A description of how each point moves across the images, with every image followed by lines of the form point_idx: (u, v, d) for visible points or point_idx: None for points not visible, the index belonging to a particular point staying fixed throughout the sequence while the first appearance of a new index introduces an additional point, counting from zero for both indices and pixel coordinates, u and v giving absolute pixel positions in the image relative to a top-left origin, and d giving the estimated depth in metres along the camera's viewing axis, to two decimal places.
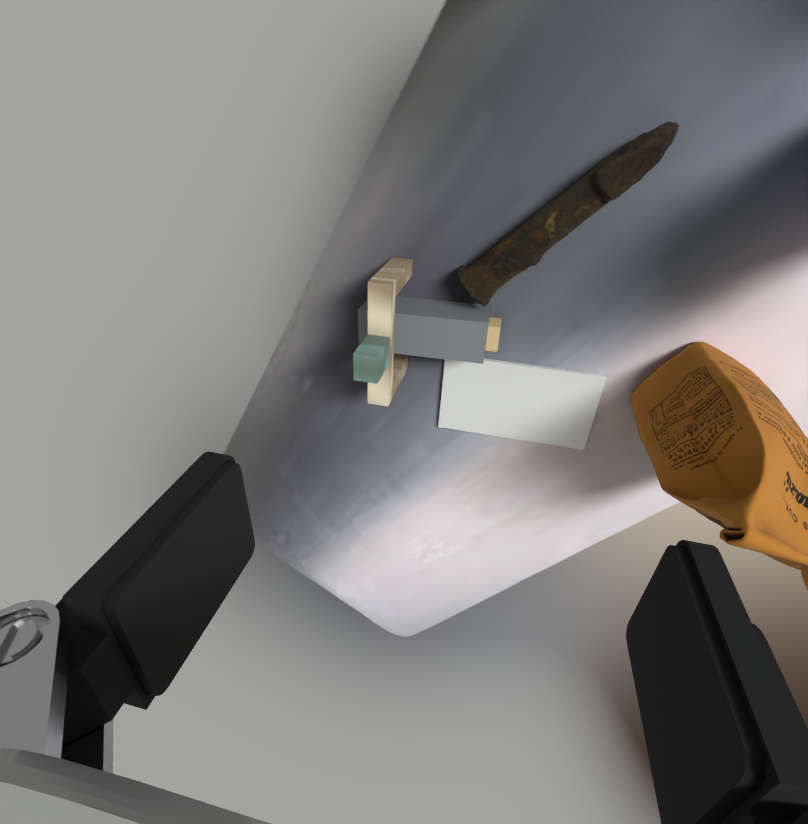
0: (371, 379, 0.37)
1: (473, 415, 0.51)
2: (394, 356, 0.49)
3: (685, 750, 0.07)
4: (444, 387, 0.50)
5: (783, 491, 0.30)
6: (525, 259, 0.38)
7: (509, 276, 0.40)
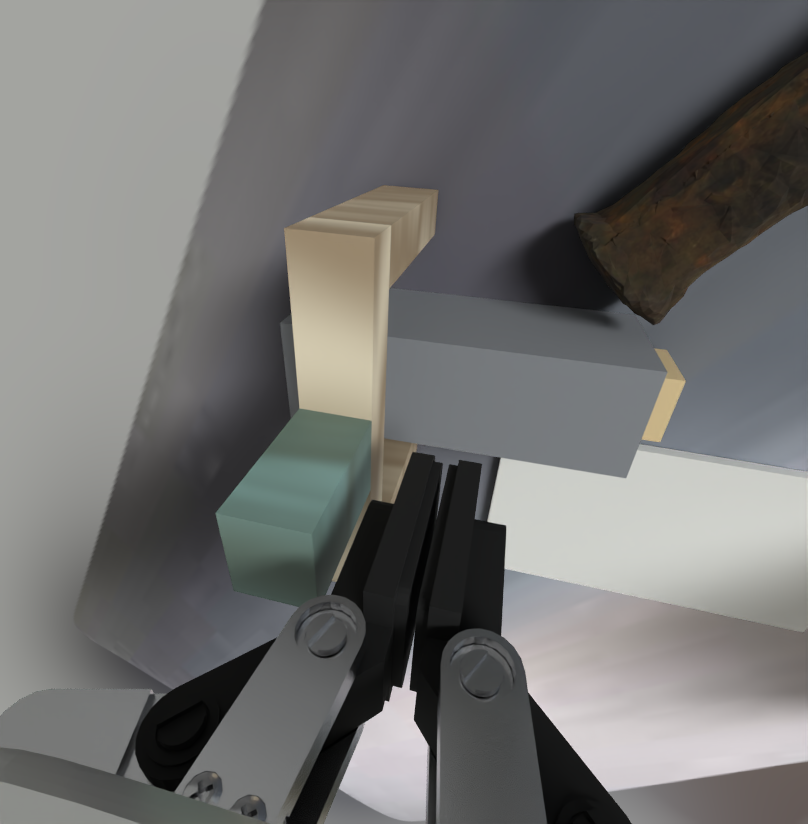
0: (295, 597, 0.10)
1: (559, 550, 0.23)
2: None
3: None
4: (499, 493, 0.22)
5: None
6: None
7: (760, 228, 0.12)
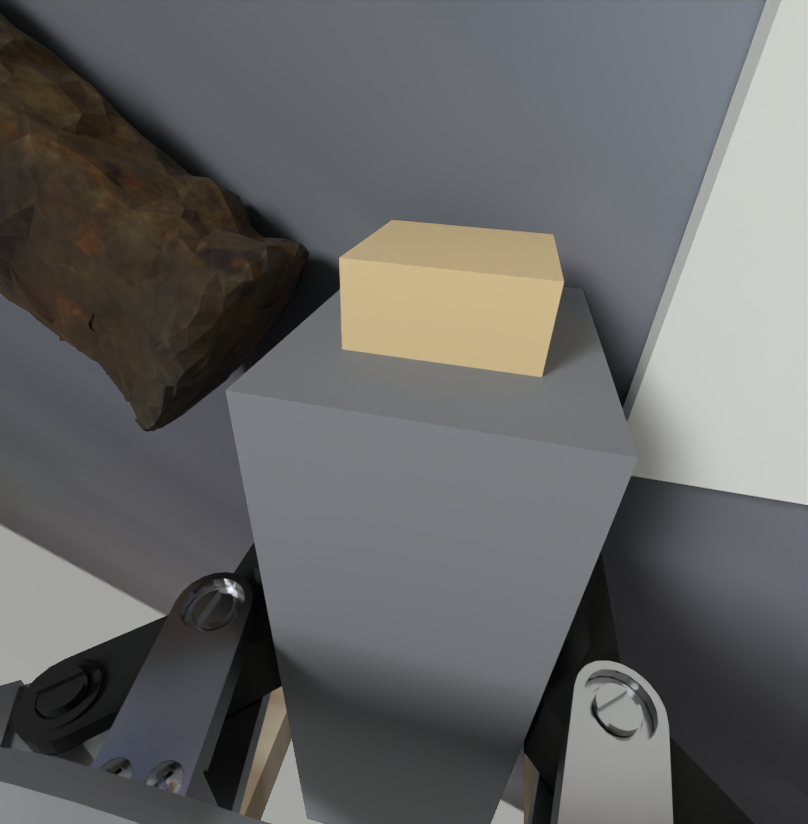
0: None
1: None
2: (527, 771, 0.16)
3: None
4: None
5: None
6: None
7: (0, 146, 0.06)
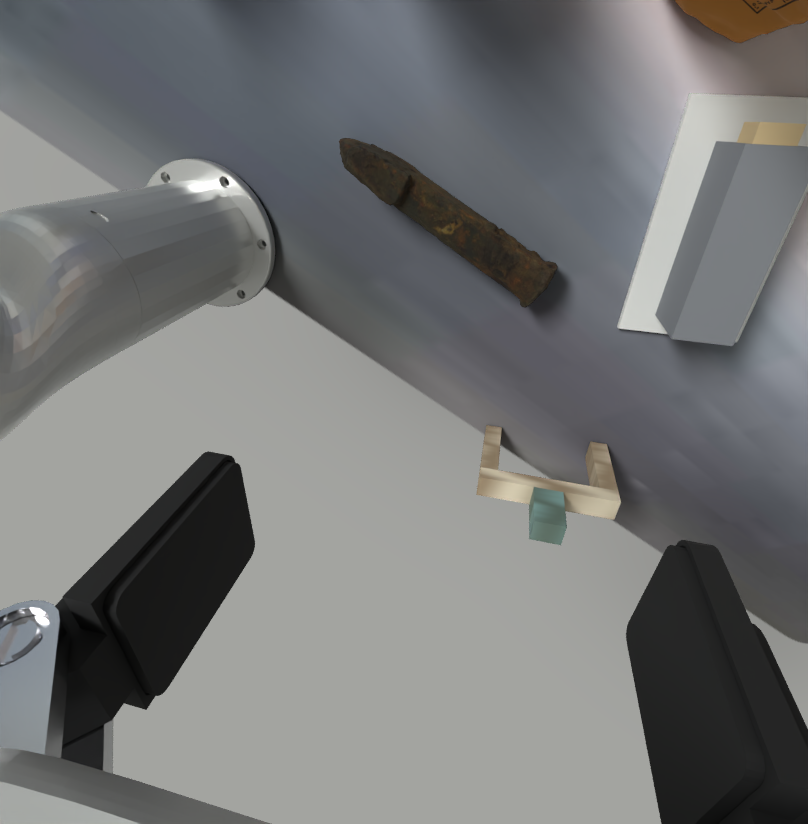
0: (560, 530, 0.35)
1: None
2: (587, 456, 0.45)
3: (685, 750, 0.07)
4: None
5: None
6: (489, 242, 0.34)
7: (513, 252, 0.34)
